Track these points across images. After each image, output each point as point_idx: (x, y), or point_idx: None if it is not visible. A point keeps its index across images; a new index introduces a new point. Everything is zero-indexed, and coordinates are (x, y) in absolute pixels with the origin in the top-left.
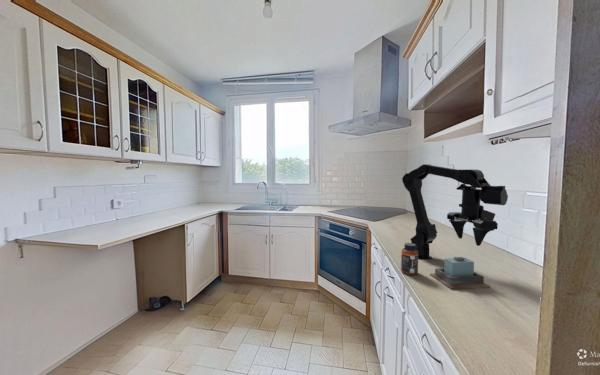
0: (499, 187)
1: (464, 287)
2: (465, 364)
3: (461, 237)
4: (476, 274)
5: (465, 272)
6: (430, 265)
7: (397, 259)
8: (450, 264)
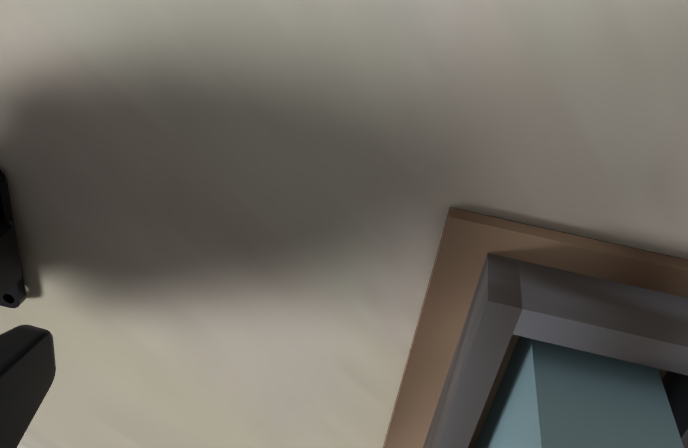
0: None
1: None
2: None
3: (34, 354)
4: (685, 373)
5: None
6: (189, 325)
7: (39, 441)
8: None
